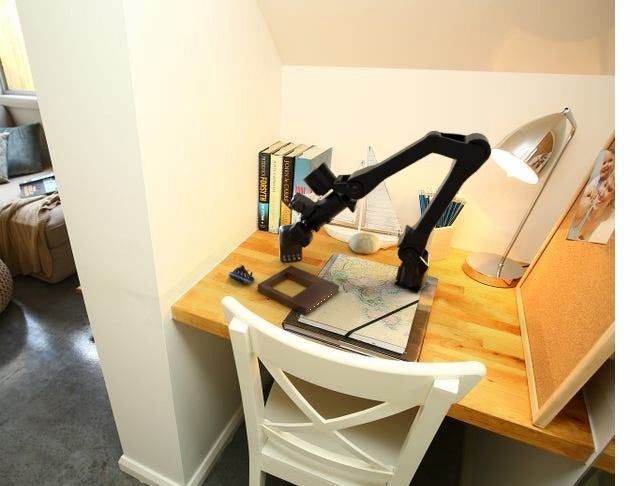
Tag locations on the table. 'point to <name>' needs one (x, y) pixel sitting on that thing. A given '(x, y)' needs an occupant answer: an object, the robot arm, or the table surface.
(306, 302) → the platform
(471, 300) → the table surface
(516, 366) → the table surface
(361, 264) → the table surface
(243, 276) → the spaceship
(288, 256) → the battery charger
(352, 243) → the sea urchin shell
